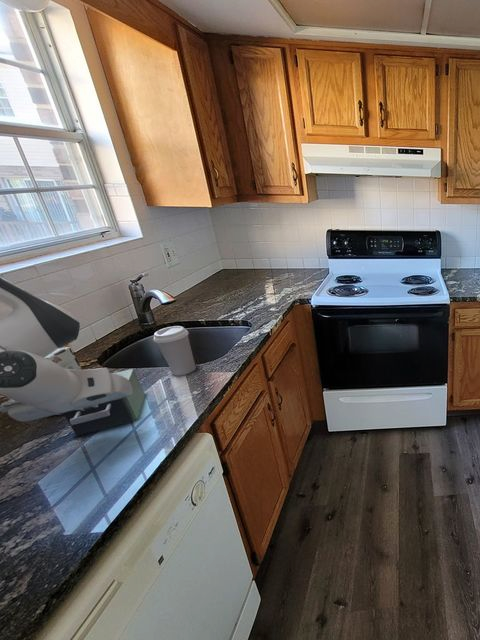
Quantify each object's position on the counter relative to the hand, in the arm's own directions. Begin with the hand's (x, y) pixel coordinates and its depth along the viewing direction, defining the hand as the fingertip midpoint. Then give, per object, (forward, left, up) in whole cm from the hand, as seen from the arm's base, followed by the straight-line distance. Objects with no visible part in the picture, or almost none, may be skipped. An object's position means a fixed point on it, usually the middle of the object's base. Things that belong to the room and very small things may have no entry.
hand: (90, 406), depth 91 cm
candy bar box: (-12, +24, -9) cm, 28 cm away
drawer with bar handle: (0, +6, -8) cm, 10 cm away
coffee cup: (+16, +29, -9) cm, 34 cm away
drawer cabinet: (0, +11, -9) cm, 14 cm away
